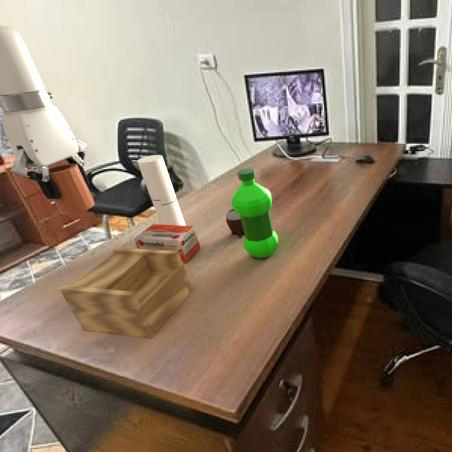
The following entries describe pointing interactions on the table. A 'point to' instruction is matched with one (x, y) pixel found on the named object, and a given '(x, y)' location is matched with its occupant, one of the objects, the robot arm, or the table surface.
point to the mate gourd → (234, 222)
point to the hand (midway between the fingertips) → (69, 190)
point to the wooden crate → (129, 292)
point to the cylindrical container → (161, 190)
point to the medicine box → (170, 239)
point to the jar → (70, 189)
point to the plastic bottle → (255, 215)
